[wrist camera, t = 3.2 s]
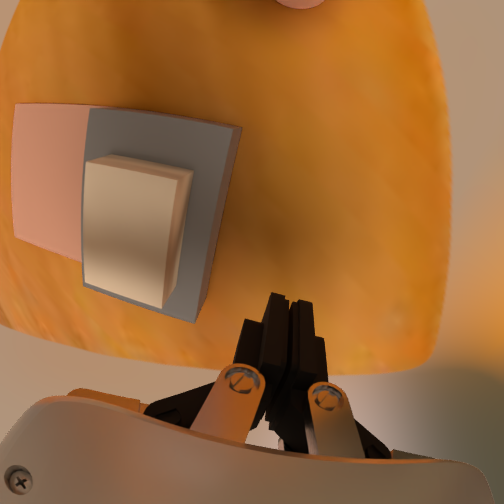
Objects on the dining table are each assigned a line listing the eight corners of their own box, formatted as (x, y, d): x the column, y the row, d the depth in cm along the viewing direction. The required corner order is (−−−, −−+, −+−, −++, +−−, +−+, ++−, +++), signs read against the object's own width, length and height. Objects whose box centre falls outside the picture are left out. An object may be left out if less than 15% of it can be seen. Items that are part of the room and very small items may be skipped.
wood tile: (111, 154, 15) (85, 161, 13) (194, 170, 15) (177, 180, 13) (105, 263, 18) (85, 282, 16) (176, 285, 18) (161, 308, 16)
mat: (18, 103, 17) (15, 103, 16) (116, 107, 17) (112, 107, 16) (17, 235, 22) (14, 236, 21) (103, 266, 22) (100, 269, 21)
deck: (116, 107, 17) (90, 107, 14) (242, 127, 17) (233, 128, 14) (103, 266, 22) (83, 285, 19) (205, 298, 22) (194, 323, 19)
